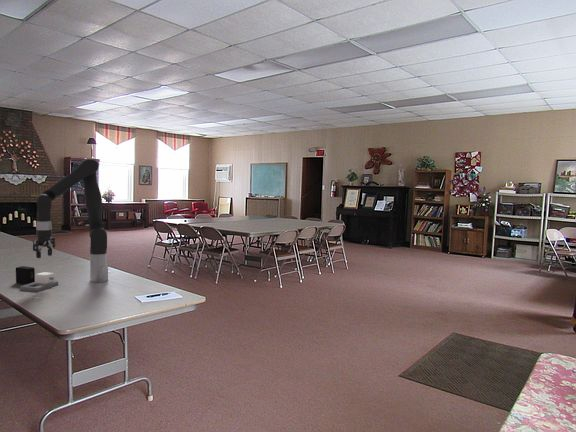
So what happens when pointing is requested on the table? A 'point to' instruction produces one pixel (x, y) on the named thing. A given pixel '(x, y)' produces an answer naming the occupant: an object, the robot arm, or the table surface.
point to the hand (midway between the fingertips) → (44, 256)
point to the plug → (44, 277)
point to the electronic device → (25, 275)
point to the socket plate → (37, 286)
